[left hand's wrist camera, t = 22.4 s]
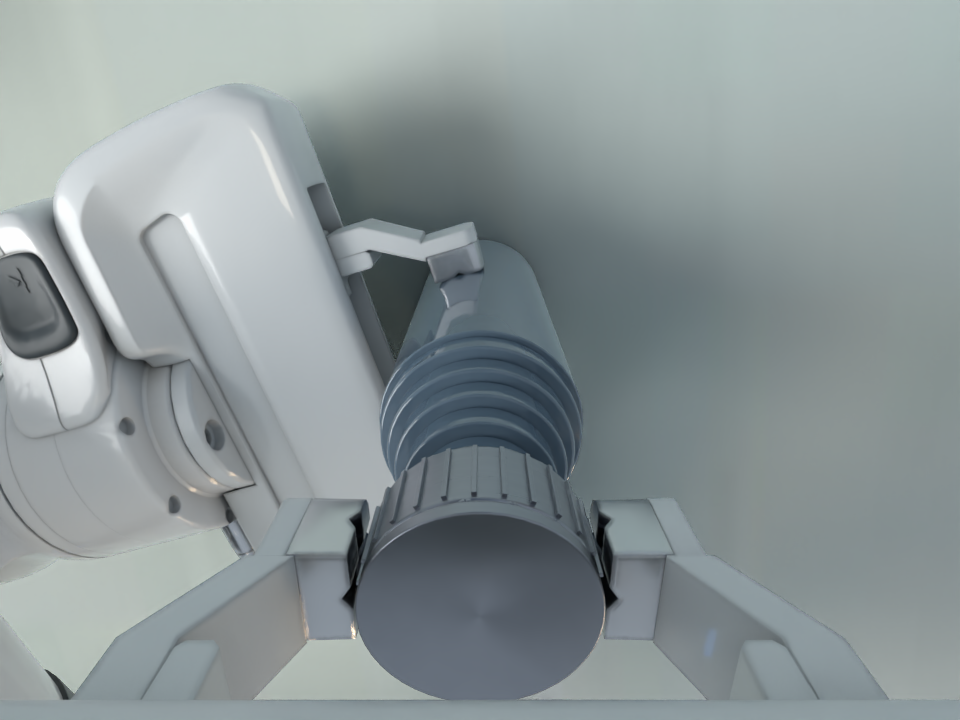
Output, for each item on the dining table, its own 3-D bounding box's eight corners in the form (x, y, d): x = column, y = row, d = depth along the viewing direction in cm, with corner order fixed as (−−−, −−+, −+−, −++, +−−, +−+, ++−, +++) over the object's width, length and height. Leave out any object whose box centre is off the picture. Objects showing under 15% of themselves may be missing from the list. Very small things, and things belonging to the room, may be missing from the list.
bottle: (500, 216, 25) (538, 389, 8) (559, 313, 26) (691, 626, 10) (402, 278, 26) (256, 546, 9) (464, 368, 27) (436, 734, 11)
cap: (573, 621, 11) (589, 713, 10) (372, 610, 11) (352, 700, 10) (603, 448, 10) (630, 518, 8) (372, 434, 10) (348, 501, 8)
